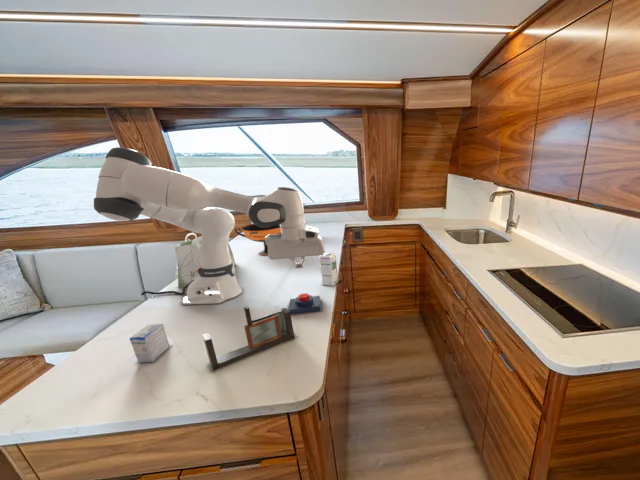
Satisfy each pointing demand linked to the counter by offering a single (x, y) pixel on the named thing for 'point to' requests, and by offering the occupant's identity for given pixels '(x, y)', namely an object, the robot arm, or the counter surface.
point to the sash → (261, 330)
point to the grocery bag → (190, 259)
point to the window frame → (245, 351)
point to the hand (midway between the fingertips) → (299, 267)
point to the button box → (304, 305)
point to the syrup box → (328, 269)
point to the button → (303, 297)
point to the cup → (259, 234)
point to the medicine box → (149, 342)
